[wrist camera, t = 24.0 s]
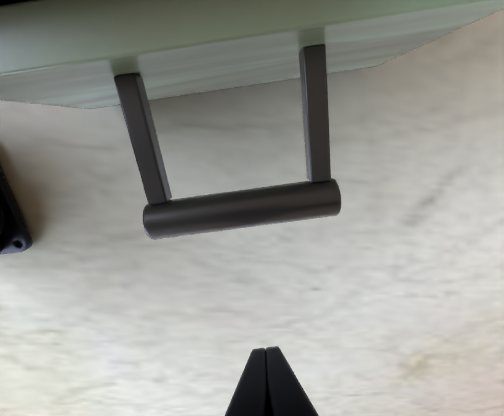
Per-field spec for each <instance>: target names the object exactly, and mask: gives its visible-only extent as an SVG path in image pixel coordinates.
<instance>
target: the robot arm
mask: <svg viewBox="0 0 504 416" xmlns="http://www.w3.org/2000/svg"><path fill="white" fill-rule="evenodd" d="M20 241H21V242H22V243H20ZM32 244H33V241H32V238H31V236H30V234H29V232H28V229H27V227H26V225H25V223H24V221H23V218H22V216H21V214H20V212H19V210H18V207H17V205H16V203H15V201H14V199H13V196H12V194H11V192H10V190H9V188H8V185H7V183H6V181H5V179H4V177H3V174H2V172H1V170H0V254H7V253H15V252H22V251H25V250H26V249H28V248H30V247H31V246H32ZM225 416H319V415H318V414H317V412H316V410H315V408H314V407H313V405H312V403H311V402H310V400H309V398H308V396H307V395H306V393H305V391H304V390H303V388H302V386H301V384H300V383H299V381H298V379H297V378H296V376H295V374H294V372H293V371H292V369H291V367H290V365H289V364H288V362H287V360H286V359H285V357H284V355H283V353H282V352H281V350H280V348H279V347H277V346H275V347H268V348H266V350H265V348H259V349H253V350H252V352H251V354H250V357H249V359H248V361H247V364H246V366H245V369H244V371H243V373H242V376H241V378H240V380H239V383H238V385H237V388H236V390H235V392H234V395H233V397H232V399H231V402H230V404H229V407H228V409H227V411H226V414H225Z"/></svg>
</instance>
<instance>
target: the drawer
mask: <svg viewBox="0 0 504 416" xmlns="http://www.w3.org/2000/svg"><path fill="white" fill-rule="evenodd" d="M0 3H1V4H3V5H2V6H0V100H4V101H14V102H24V103H35V104H45V105H55V106H66V107H76V108H86V109H93V108H100V107H107V106H113V105H120V104H121V107H122V111H123V114H124V118H125V121H126V125H127V128H128V132H129V136H130V139H131V143H132V146H133V150H134V154H135V157H136V161H137V164H138V168H139V171H140V175H141V179H142V182H143V186H144V189H145V193H146V196H147V200H148V204H147V205H146V206H145V207H144V210H143V224H144V229H145V231H146V233H147V235H148V236H149V237H150V238H151V239H162V238H170V237H177V236H185V235H193V234H200V233H208V232H215V231H223V230H230V229H238V228H245V227H253V226H261V225H268V224H276V223H283V222H291V221H298V220H306V219H313V218H321V217H329V216H336V215H338V214H339V213H340V210H341V194H340V190H339V186H338V184H337V182H336V180H335V179H333V178H331V168H330V143H329V118H328V92H327V74H328V73H334V72H341V71H348V70H354V69H361V68H368V67H374V66H378V65H380V64H382V63H385V62H387V61H389V60H391V59H393V58H396V57H398V56H400V55H402V54H405V53H407V52H409V51H411V50H413V49H416V48H418V47H420V46H422V45H424V44H427V43H429V42H431V41H433V40H435V39H438V38H440V37H442V36H444V35H446V34H449V33H451V32H453V31H455V30H457V29H460V28H462V27H464V26H466V25H468V24H471V23H473V22H475V21H477V20H480V19H482V18H484V17H486V16H488V15H491V14H493V13H495V12H497V11H499V10H502V9H504V0H0ZM294 78H300V79H301V94H302V108H303V123H304V137H305V152H306V166H307V178H308V180H309V181H305V182H297V183H290V184H283V185H276V186H268V187H261V188H254V189H246V190H239V191H232V192H224V193H217V194H210V195H203V196H195V197H188V198H181V199H173V200H170V199H171V198H172V195H171V191H170V187H169V183H168V179H167V175H166V171H165V167H164V163H163V159H162V155H161V151H160V147H159V142H158V138H157V134H156V130H155V126H154V122H153V118H152V114H151V110H150V106H149V102H148V100H154V99H160V98H167V97H174V96H180V95H187V94H194V93H200V92H207V91H214V90H220V89H227V88H234V87H241V86H247V85H254V84H261V83H267V82H274V81H281V80H287V79H294Z"/></svg>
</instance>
